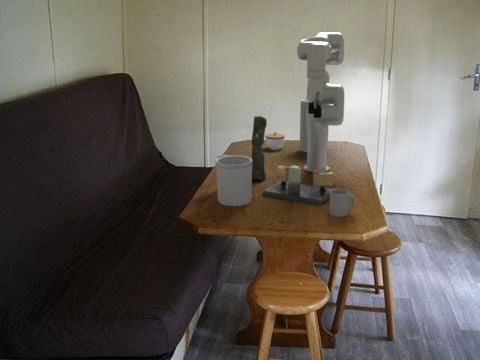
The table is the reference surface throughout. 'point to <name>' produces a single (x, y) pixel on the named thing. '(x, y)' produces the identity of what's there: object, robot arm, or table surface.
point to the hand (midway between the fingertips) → (314, 115)
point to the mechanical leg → (258, 149)
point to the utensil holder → (234, 180)
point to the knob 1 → (283, 173)
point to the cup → (340, 202)
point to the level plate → (304, 195)
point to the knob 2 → (322, 179)
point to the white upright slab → (306, 126)
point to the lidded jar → (274, 141)
